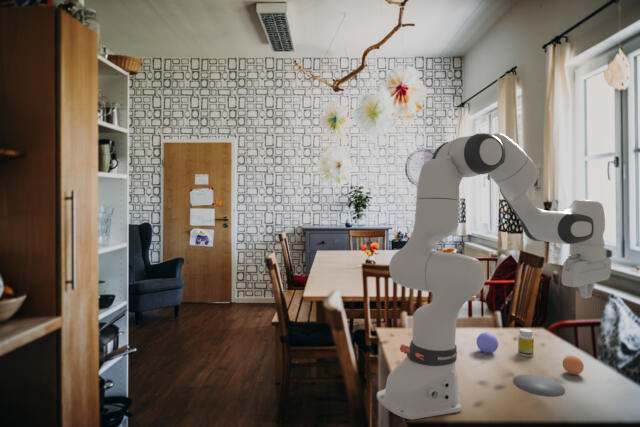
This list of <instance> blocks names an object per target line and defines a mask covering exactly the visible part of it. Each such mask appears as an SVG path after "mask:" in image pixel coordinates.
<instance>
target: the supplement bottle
mask: <svg viewBox="0 0 640 427" xmlns="http://www.w3.org/2000/svg"><path fill="white" fill-rule="evenodd" d="M533 335H534V334H533V330H532V329H529V328H520V329H519V335H518V338H517V341H518V342H517V353H518V355H521V356H524V357H532V356H534V336H533Z"/></svg>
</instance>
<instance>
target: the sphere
mask: <svg viewBox="0 0 640 427" xmlns="http://www.w3.org/2000/svg"><path fill="white" fill-rule="evenodd" d="M475 343H476V346H477V347H478V350H480V351H481V353H485V354H492V353H493V354H494V353H495V352H496V351H497V350H498V348H499V342H498V338H497V337H496V336H495V335H494V334H492V333H491V332H482V333H480V334H479V335H478V336H477V338H476V342H475Z"/></svg>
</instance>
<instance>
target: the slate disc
mask: <svg viewBox="0 0 640 427" xmlns="http://www.w3.org/2000/svg"><path fill="white" fill-rule="evenodd" d="M512 381H513V383H514V385H515V386H516V387H518V388H519V389H521V390H523V391H526V392H528V393H530V394H535V395H539V396H545V397H558V396H563V395H564V394H565V393H566V390H565V387H564V386H563V385H562V384H561V383H559V382H557V381H555V380H553V379H550V378H547V377H544V376H540V375H534V374H519V375H517V376H515V377H513V379H512Z"/></svg>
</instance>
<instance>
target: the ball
mask: <svg viewBox="0 0 640 427" xmlns="http://www.w3.org/2000/svg"><path fill="white" fill-rule="evenodd" d="M584 365H585V364H584V362H583V361H582V360H581V358H579V357H578V356H575V355H566V356H565V357H564V358H563V360H562V366H563V369H564V371H565V372H567V373H568V374H571V375H574V376H575V375H576V376H577V375H579V374H581V373H582V372H583V371H584V367H585V366H584Z"/></svg>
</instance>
